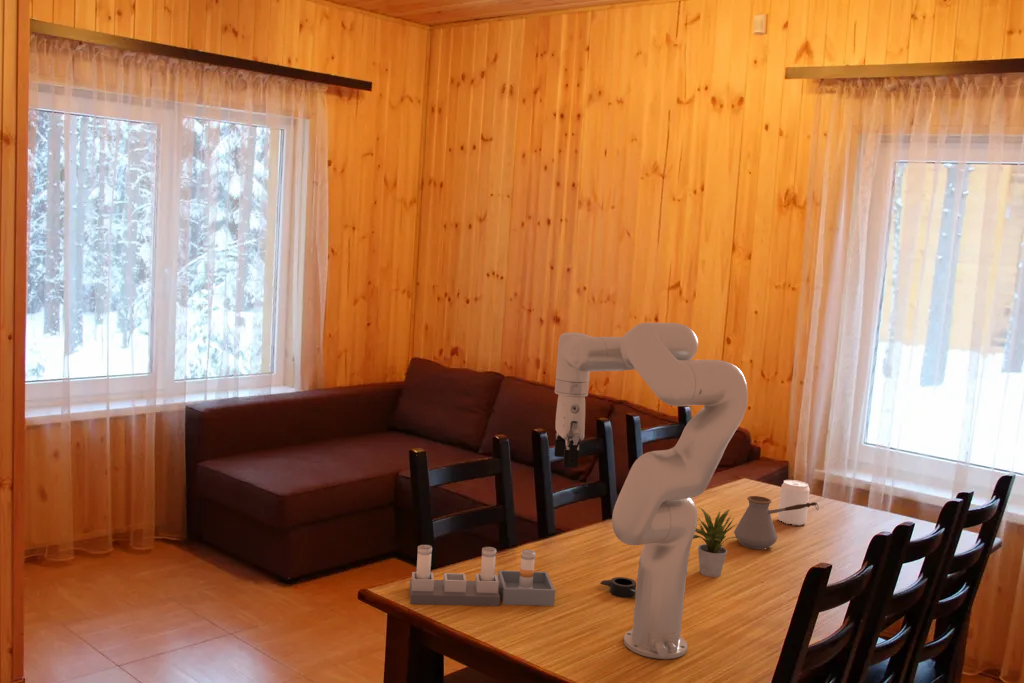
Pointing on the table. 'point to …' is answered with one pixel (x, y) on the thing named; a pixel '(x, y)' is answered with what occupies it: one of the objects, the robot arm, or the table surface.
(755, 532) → the coffee pot
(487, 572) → the fuse right
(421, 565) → the fuse left
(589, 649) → the table surface
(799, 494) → the beverage can
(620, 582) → the black ring with handle
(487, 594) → the block
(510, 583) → the tray
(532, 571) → the marked fuse
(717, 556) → the house plant
